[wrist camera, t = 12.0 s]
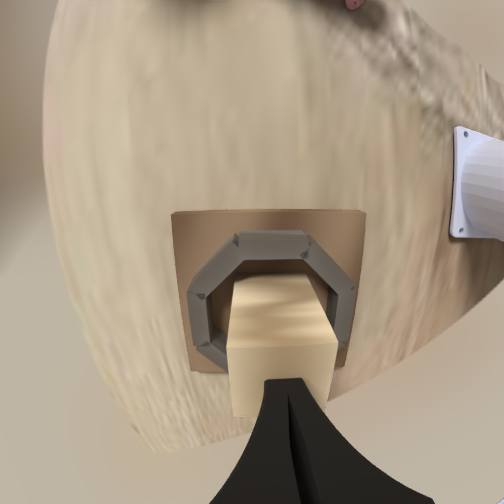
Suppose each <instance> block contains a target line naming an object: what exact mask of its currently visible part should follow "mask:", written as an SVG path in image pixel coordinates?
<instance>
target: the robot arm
mask: <svg viewBox="0 0 504 504" xmlns="http://www.w3.org/2000/svg"><path fill="white" fill-rule="evenodd" d="M464 133H465V136H464ZM454 148H455V165H454V191H453V205H452V215H451V224H450V234H451V235H452V236H453V237H457V238H495V239H498V240H500V241H502V242H504V141H499V140H497V139H494V138H492V137H489V136H487V135H484V134H481V133H478V132H476V131H473V130H470V129H467V128H464V127H461V126H459V127H455V129H454ZM460 228H461V231H460V232H459V230H460ZM209 504H435V503H434V501H433V499H432V498H430V497H427V496H425V495H423V494H420V493H418V492H416V491H414V490H412V489H410V488H408V487H406V486H405V485H403V484H401V483H400V482H398V481H396V480H395V479H393V478H391V477H390V476H389V475H387V474H386V473H384V472H383V471H381V470H380V469H379V468H377V467H376V466H375V465H373V464H372V463H371V462H370V461H368V460H367V459H366V458H365V457H364V456H362V455H361V454H360V453H359V452H358V451H357V450H356V449H355V448H354V447H353V446H352V445H351V444H350V443H349V442H348V441H347V440H346V439H345V438H344V437H343V436H342V435H341V433H340V432H339V431H338V430H337V429H336V428H335V426H334V425H333V424H332V423H331V422H330V420H329V419H328V418H327V416H326V415H325V413H324V412H323V411H322V409H321V408H320V407H319V405H318V404H317V402H316V401H315V399H314V397H313V396H312V394H311V393H310V391H309V389H308V387H307V386H306V384H305V382H304V380H303V379H302V378H285V379H267V380H266V381H264V394H263V400H262V404H261V408H260V411H259V414H258V418H257V421H256V424H255V427H254V429H253V432H252V434H251V437H250V439H249V441H248V444H247V446H246V448H245V450H244V452H243V454H242V456H241V457H240V459H239V461H238V463H237V465H236V466H235V468H234V470H233V471H232V473H231V474H230V476H229V478H228V479H227V481H226V482H225V484H224V485H223V487H222V488H221V489H220V491H219V492H218V493H217V495H216V496H215V497H214V498H213V500H212V501H211V502H210V503H209ZM496 504H504V498H503V499H502V500H500V501H499V502H498V503H496Z"/></svg>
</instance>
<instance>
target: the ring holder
mask: <svg viewBox="0 0 504 504" xmlns="http://www.w3.org/2000/svg"><path fill="white" fill-rule="evenodd" d="M171 221H172V234H173V245H174V256H175V265H176V274H177V283H178V291H179V299H180V307H181V314H182V321H183V327H184V334H185V340H186V346H187V352H188V358H189V363H190V369H191V371H198V372H227V373H229V371H228V361H227V350H226V346H227V338H228V330H229V322H230V314H231V306H232V298H233V290H234V282H235V274H261V273H294V272H305V273H306V275H307V277H308V279H309V281H310V283H311V285H312V287H313V290H314V292H315V294H316V296H317V298H318V300H319V302H320V304H321V306H322V308H323V310H324V312H325V314H326V317H327V319H328V321H329V323H330V325H331V327H332V329H333V331H334V334H335V336H336V338H337V340H338V348H337V354H336V360H335V365H334V367H343V366H344V365H345V360H346V356H347V351H348V346H349V341H350V336H351V331H352V325H353V319H354V314H355V307H356V301H357V295H358V288H359V280H360V272H361V264H362V255H363V245H364V234H365V221H366V213H364V212H362V211H360V210H317V209H255V210H209V211H182V212H174V213H173V214H171Z"/></svg>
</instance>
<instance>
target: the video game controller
mask: <svg viewBox="0 0 504 504" xmlns="http://www.w3.org/2000/svg"><path fill="white" fill-rule="evenodd" d="M363 2H364V0H345V4H346V7H347V8H348V9H351V10H353V9H356V8H358V7H359V6H360V5H361V4H362V3H363Z"/></svg>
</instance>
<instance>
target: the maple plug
mask: <svg viewBox="0 0 504 504" xmlns="http://www.w3.org/2000/svg"><path fill="white" fill-rule="evenodd" d="M337 348H338V340H337V338H336V336H335V334H334V331H333V329H332V327H331V325H330V323H329V321H328V319H327V317H326V314H325V312H324V310H323V308H322V306H321V304H320V302H319V300H318V298H317V296H316V294H315V292H314V290H313V287H312V285H311V283H310V281H309V279H308V277H307V275H306V273H305V272H294V273H261V274H235V282H234V290H233V298H232V306H231V314H230V322H229V330H228V338H227V346H226V350H227V361H228V371H229V381H230V390H231V399H232V408H233V417H258V414H259V411H260V408H261V404H262V400H263V394H264V381H266V380H267V379H285V378H302V379H303V380H304V382H305V384H306V386H307V387H308V389H309V391H310V393H311V394H312V396H313V397H314V399H315V401H316V402H317V404H318V405H319V407H320V408H321V409H322V411H323V412H325V408H326V404H327V400H328V395H329V390H330V386H331V381H332V376H333V371H334V365H335V360H336V354H337Z"/></svg>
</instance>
